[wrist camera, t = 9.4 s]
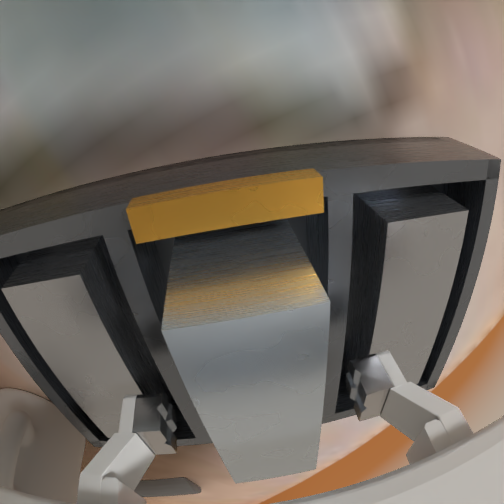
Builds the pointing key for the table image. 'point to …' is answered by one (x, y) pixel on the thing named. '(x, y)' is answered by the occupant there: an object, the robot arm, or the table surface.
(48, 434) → the mug
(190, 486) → the half round rod
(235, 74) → the table surface
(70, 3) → the table surface
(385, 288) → the rack
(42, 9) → the table surface
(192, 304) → the grey rectangular block
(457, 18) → the table surface
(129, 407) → the robot arm
